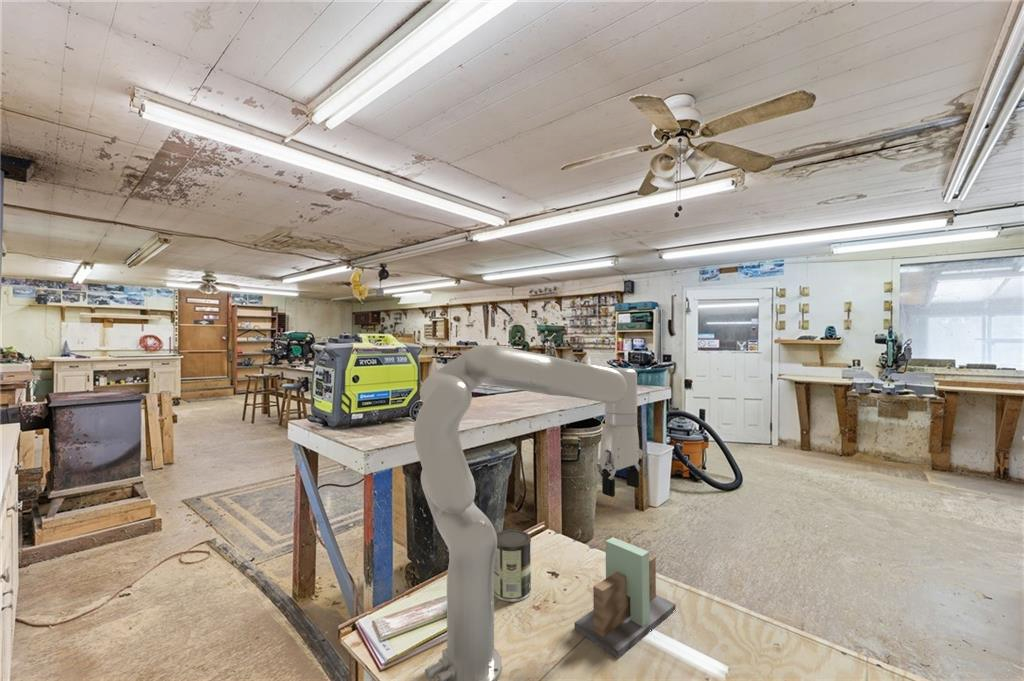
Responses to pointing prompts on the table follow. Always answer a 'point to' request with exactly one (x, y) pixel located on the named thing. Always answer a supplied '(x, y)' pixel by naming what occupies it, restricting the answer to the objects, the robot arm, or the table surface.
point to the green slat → (631, 575)
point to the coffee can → (512, 566)
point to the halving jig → (621, 614)
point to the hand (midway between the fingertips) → (620, 490)
